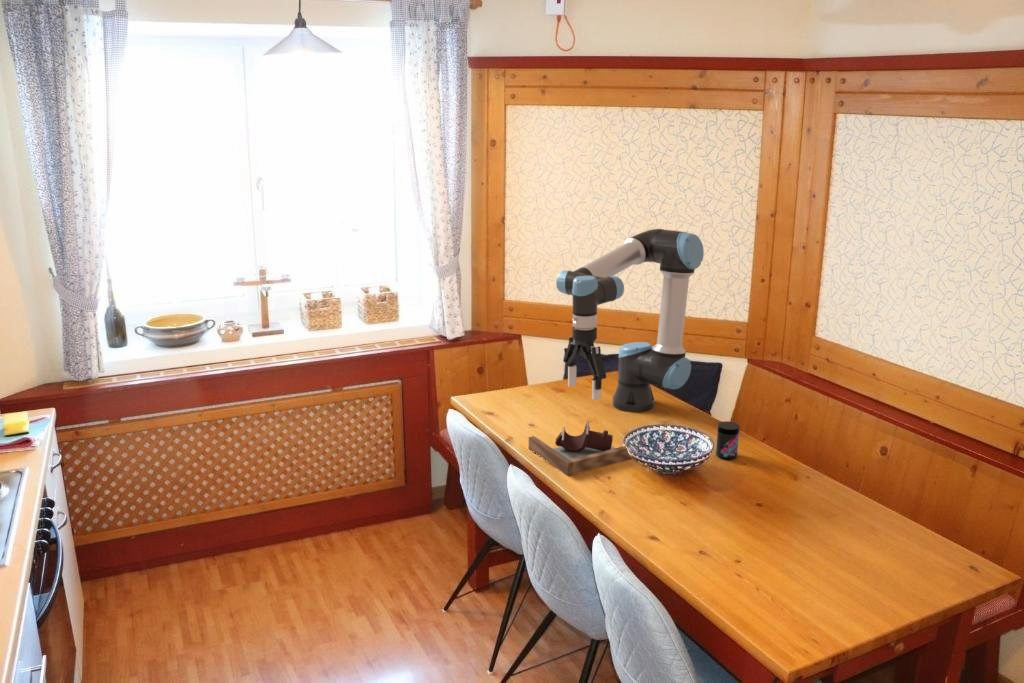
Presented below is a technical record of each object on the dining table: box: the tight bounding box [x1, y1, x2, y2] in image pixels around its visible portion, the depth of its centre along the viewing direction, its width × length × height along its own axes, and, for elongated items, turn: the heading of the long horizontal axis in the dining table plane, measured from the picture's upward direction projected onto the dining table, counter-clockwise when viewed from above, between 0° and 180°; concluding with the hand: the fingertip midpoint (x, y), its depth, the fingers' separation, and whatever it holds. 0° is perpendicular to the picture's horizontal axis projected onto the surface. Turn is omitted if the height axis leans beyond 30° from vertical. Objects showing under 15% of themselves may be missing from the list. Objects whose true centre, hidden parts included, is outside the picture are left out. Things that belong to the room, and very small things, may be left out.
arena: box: [528, 435, 633, 477], centre depth 273 cm, size 24×23×4 cm
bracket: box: [555, 420, 614, 453], centre depth 273 cm, size 6×17×10 cm
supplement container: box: [715, 420, 741, 461], centre depth 270 cm, size 7×7×10 cm
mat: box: [553, 446, 616, 460], centre depth 276 cm, size 20×11×1 cm, turn 119°
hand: (584, 392), depth 270 cm, fingers open, 13 cm apart
